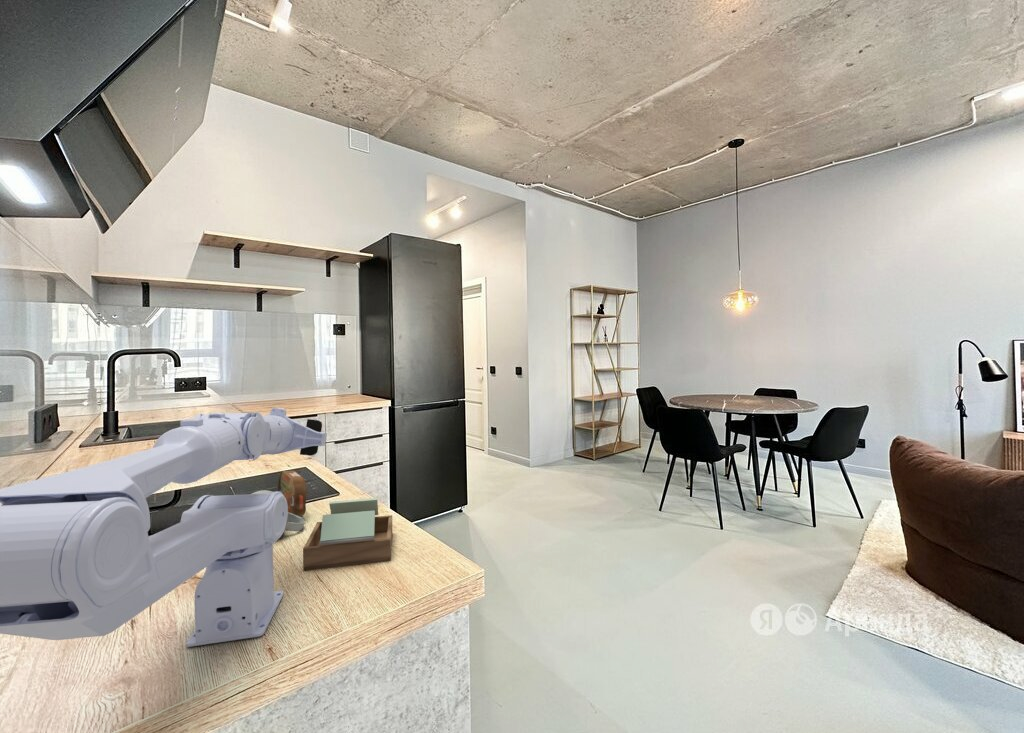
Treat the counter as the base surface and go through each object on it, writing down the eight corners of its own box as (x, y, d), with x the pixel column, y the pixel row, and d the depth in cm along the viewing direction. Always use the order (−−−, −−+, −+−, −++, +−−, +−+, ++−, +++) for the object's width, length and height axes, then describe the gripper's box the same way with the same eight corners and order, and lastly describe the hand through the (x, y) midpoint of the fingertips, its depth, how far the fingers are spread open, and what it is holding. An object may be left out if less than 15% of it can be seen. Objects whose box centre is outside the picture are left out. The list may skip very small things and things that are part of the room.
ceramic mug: (243, 550, 74) (243, 505, 73) (237, 534, 80) (237, 493, 80) (309, 534, 80) (310, 493, 80) (299, 521, 87) (299, 483, 86)
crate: (390, 560, 69) (390, 539, 69) (303, 570, 66) (302, 548, 66) (392, 533, 80) (392, 515, 80) (317, 540, 77) (317, 522, 77)
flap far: (378, 515, 79) (378, 513, 80) (377, 500, 77) (377, 497, 77) (331, 519, 77) (332, 517, 78) (329, 503, 75) (329, 501, 75)
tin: (276, 505, 96) (276, 467, 96) (292, 502, 98) (291, 465, 98) (292, 525, 84) (291, 483, 84) (309, 521, 86) (308, 480, 86)
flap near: (320, 545, 67) (319, 544, 66) (323, 515, 69) (322, 514, 69) (374, 539, 69) (373, 539, 68) (374, 511, 71) (374, 510, 71)
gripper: (319, 413, 62) (341, 415, 76) (212, 400, 61) (254, 404, 74) (310, 462, 61) (334, 455, 75) (201, 451, 59) (246, 446, 73)
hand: (294, 433), depth 74 cm, fingers open, 7 cm apart
